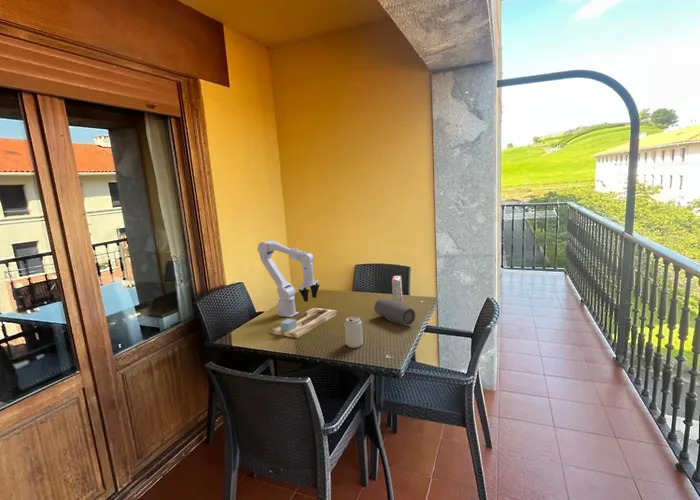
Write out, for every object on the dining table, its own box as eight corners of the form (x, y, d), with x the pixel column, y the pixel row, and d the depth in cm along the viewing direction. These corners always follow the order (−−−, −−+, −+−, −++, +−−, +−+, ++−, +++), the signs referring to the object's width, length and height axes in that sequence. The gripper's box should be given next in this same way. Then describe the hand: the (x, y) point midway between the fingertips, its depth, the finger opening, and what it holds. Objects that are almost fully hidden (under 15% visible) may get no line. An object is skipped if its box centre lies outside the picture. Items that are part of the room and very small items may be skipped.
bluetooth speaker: (416, 325, 176) (416, 305, 175) (402, 329, 172) (401, 309, 170) (388, 313, 196) (387, 295, 194) (374, 317, 191) (373, 299, 189)
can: (345, 342, 161) (343, 316, 159) (362, 340, 162) (360, 315, 160) (346, 349, 154) (344, 322, 152) (364, 347, 154) (362, 320, 153)
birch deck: (271, 333, 178) (271, 329, 177) (314, 310, 208) (313, 307, 208) (297, 338, 170) (297, 333, 169) (337, 313, 200) (337, 310, 200)
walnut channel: (290, 323, 184) (290, 319, 184) (305, 315, 195) (305, 311, 195) (303, 325, 180) (303, 321, 180) (318, 317, 191) (318, 313, 191)
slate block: (280, 330, 175) (280, 322, 175) (288, 326, 180) (288, 318, 180) (288, 331, 173) (288, 323, 172) (296, 327, 178) (296, 319, 177)
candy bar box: (394, 302, 214) (393, 275, 211) (402, 302, 213) (401, 275, 210) (392, 308, 203) (391, 280, 201) (401, 308, 202) (400, 280, 200)
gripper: (305, 278, 188) (307, 304, 190) (322, 272, 201) (323, 296, 203) (295, 278, 192) (297, 302, 194) (311, 272, 204) (313, 295, 206)
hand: (310, 299), depth 199 cm, fingers open, 7 cm apart
